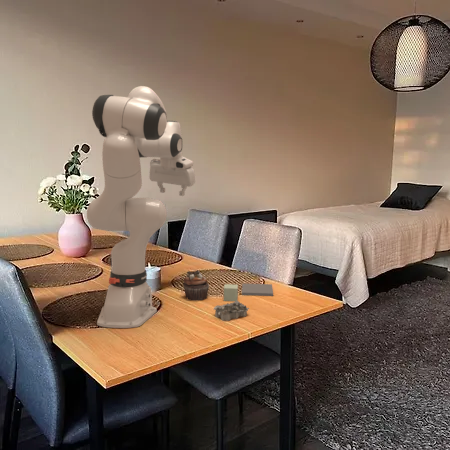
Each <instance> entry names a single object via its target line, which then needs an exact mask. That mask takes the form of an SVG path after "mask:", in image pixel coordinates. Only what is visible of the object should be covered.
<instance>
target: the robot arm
mask: <svg viewBox="0 0 450 450" xmlns="http://www.w3.org/2000/svg"><path fill="white" fill-rule="evenodd" d="M91 113H92V115H91V116H92V120H93V123H94V125H95V127H96V128H97V130H98V132H99V134H100V135H101V136H102V137H104V138H105V139H104V141H103V143H102V155H101V156H102V168H103V169H102V170H103V176H104V188H103V189H104V190H103V191H102V192H101V194H100V195H99V196H98V197H96V198H94V199H93V200H92V201H90V203H89V205H88V207H87V209H86V219H87V222H88V223H89V225H90V226H91V227H92V228H93V229H96V230H101V231H106V232H129V236H128V237H127V238H125V239H123V240H120V241H119V242H118V243H116V244H114V245H113V247H112V248H111V252H110V255H111V256H110V257H111V258H110V259H111V271H110V275H109V278H108V284H109V285H108V286H107V287H108V289H107V292H106V297H105V300H104V305H103V306H102V308H101V309H100V310H101V311H100V313H99V316H98V319H97V321H96V325H97V326H99V327H102V328H103V327H104V328H110V329H111V328H115V329H130V328H131V329H133V328H137V327H140V326H141V325H143V324H145V322H147V321H148V320H149V319H150V318H152V317H153V316H154V315H155V314H156V313H157V312H158V310H157V307H155V306H153V295H152V287H151V286H150V285H149V284H148V282H147V276H148V274H147V270H146V254H147V253H146V252H147V246H148V244H149V241H150V240H151V238H152V237H153V235H154V234H155V233H156V232H157V231H158V230H160V229H161V228H163V226H164V224H165V222H166V221H167V215H168V214H167V213H168V212H167V208H166V206H165V204H164V203H163V202H162V201H161V200H160V199H156V198H150V197H135V196H136V195H137V194H138V193H139V192H140V191H141V189H142V186H143V185H142V184H143V183H142V167H141V160H140V159H141V158H153V159H151V160H150V161H149V180H150V181H151V182H156V184H157V186H158V188H159V193H161V194H163V193H166V187H164V185H163V184H169V185H175V186H181V187H180V188H181V190H180V191H178V194H179V196H182V197H183V196H185V193H186V192H185V191H186V189H187V188H188V187H189V188H191V187H192V186H194V185H195V184H196V174H195V170H194V167H193V166H194V160H191V159H189V158H187V157H185V156H183V152H182V151H183V137H182V135H183V134H182V128H181V127H182V126H181V124H180V122H179V121H176V120H168V114H167V113H168V112H167V110H166V108H165V105H164V103H163V101H162V99H161V98H160V97H159V95H158V94H157V93H156V92H155V91H154V90H153V89H152V88H151V87H148V86H146V85H145V86H144V85H139V86H136V87H134V88H133V89H131V91H130V92H129V93H128V95H127V96H120V95H119V96H118V95H114V94H102V95H99V96H98V97H97V98H96V100H95V101H94V103H93V105H92V111H91ZM156 158H160V159H156Z"/></svg>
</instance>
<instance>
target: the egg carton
mask: <svg viewBox="0 0 450 450" xmlns="http://www.w3.org/2000/svg"><path fill="white" fill-rule="evenodd" d="M213 310H214V311H215V315H214V316H215V318H220V320H221V321H226V322H229V321H231V319H235V320H237V319H239V317H247V315H248V310H250V308H249V307H247V305H244V304H243V303H242V302H240V301H239V300H237V301H236V302H235V301H232V302H230V303H226V304H221V305H220V304H219V305H217V304H216V305H215V306H214V307H213Z"/></svg>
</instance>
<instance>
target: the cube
mask: <svg viewBox="0 0 450 450" xmlns="http://www.w3.org/2000/svg"><path fill="white" fill-rule="evenodd" d="M238 291H239V285H238V284H231V283H229V284H227V283H226V284H224V286H223V302H236V301H238V296H239V295H238V294H239V293H238Z"/></svg>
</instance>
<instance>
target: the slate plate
mask: <svg viewBox="0 0 450 450" xmlns="http://www.w3.org/2000/svg"><path fill="white" fill-rule="evenodd" d="M241 284H242V285H241V286H242V287H241V296H255V297H257V296H258V297H259V296H263V297H268V296H269V297H274V288H273V284H271V283H270V284H269V283H268V284H267V283H241Z"/></svg>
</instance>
